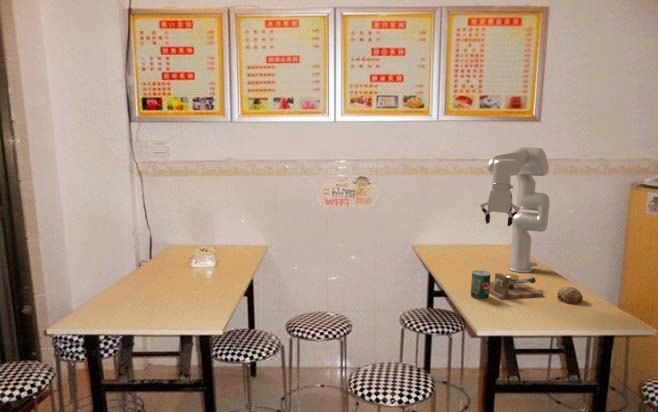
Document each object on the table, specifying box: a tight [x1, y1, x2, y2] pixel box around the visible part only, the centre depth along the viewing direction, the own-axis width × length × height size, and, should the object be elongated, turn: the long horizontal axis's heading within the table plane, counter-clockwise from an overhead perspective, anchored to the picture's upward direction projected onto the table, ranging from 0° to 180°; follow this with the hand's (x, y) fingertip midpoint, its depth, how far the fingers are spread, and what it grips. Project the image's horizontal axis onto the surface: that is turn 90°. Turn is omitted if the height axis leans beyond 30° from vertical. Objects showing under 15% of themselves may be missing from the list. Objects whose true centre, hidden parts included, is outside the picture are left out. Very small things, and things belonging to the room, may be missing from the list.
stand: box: [489, 272, 544, 300], centre depth 219 cm, size 22×20×10 cm
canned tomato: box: [470, 270, 491, 301], centre depth 210 cm, size 8×8×11 cm
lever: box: [504, 273, 536, 289], centre depth 220 cm, size 16×6×5 cm, turn 104°
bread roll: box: [556, 286, 583, 305], centre depth 207 cm, size 10×10×8 cm
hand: (498, 224), depth 216 cm, fingers open, 9 cm apart
